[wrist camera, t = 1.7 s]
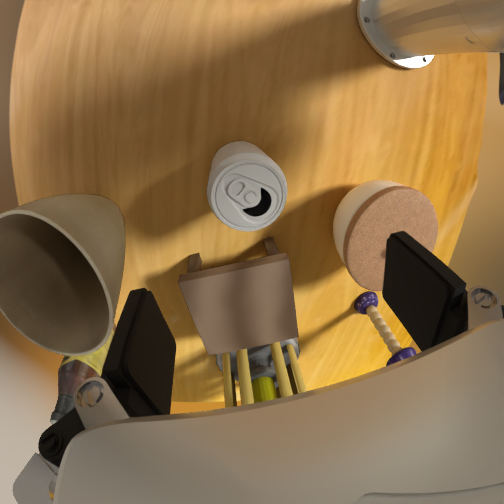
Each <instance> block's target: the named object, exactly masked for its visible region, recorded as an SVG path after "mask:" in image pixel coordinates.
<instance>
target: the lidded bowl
mask: <svg viewBox="0 0 504 504" xmlns="http://www.w3.org/2000/svg"><path fill="white" fill-rule="evenodd" d="M399 231H405V232H406V233H408V234H409V235H410V236H412V237H413V238H414V239H415V240H417V241H418V242H419V243H420V244H421V245H423V246H424V247H425V248H426V249H428V250H429V251H430V252H431V253H432V251H433V249H434V246H435V243H436V239H437V233H438V221H437V215H436V211H435V209H434V206H433V205H432V203H431V201H430V200H429V199H428V198H427V197H426V196H425V195H424V194H422V193H421V192H419V191H418V190H415V189H413V188H410V187H407V186H405V185H403V184H400V183H397V182H394V181H389V180H372V181H367V182H364V183H362V184H359V185H358V186H356V187H354V188H353V189H352V190H350V191H349V192H348V193H347V194H346V195H345V196H344V198H343V199H342V201H341V202H340V204H339V206H338V208H337V210H336V213H335V216H334V221H333V237H334V242H335V245H336V249H337V251H338V253H339V256H340V258H341V260H342V261H343V263H344V265H345V266H346V268H347V270H348V272H349V274H350V275H351V276H352V278H353V279H354V280H355V282H356V283H358V284H359V285H360V286H362V287H363V288H365V289H368V290H372V291H382V290H383V280H384V269H385V256H386V241H387V238H389V236H390V234H391V233H395V232H399Z"/></svg>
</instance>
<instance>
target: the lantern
mask: <svg viewBox="0 0 504 504" xmlns="http://www.w3.org/2000/svg"><path fill="white" fill-rule="evenodd" d="M299 354H300V348H299V343H298V340H297V338H293V339H289V340H285V341H280V342H276V343H271V344H267V345H262V346H257V347H252V348H247V349H242V350H237V351H231V352H225V353H220V354H216V364H217V365H218V367H219V369H220V371H222V372H223V380H224V398H225V408H229V407H236V406H237V401H236V390H235V380H236V381H239V387H240V396H241V406H242V405H247V404H253V403H258V402H263V401H268V400H273V399H278V398H282V397H287V396H291V395H295V394H299V393H303V392H307V391H306V387H305V384H304V380H303V377H302V374H301V370H300V367H299V363H298V357H299Z"/></svg>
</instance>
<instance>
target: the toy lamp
mask: <svg viewBox="0 0 504 504" xmlns="http://www.w3.org/2000/svg"><path fill="white" fill-rule="evenodd" d="M377 305H378V297H377V295H376V293H374V292H366V293H364V294H362V295H360V296H359V298H358V299H357V300H356V302H355V309H356V311H357V312H359V313H361V314H367V315H368V316H369V317H370V319H371V321H372V323H374V325H375V328H376V329H377V330H378V331H379V334H380V336H381V337H382V338H383V340H384V342H385V344H386V345H387V346H388V350H389V351H390V352H392V357H391V358H390V359H389V360H388V362H387V364H386V366H389V365H391V364H394V363H396V362H399V361H401V360H404V359H406V358H409V357H411V356H413V355H416V351H415V349H414V348H412V347H407V348H404V349H402V348H401V347H400V344H399V342H398V341H397V340H396V339H395V336H394V334H393V333H391V330H390V328H389V327H388V326H387V325H386V322H385V320H384V319H382V316H381V314H380V313H379V312H378V311H377V308H376V307H377Z"/></svg>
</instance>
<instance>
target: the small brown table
mask: <svg viewBox="0 0 504 504" xmlns="http://www.w3.org/2000/svg"><path fill="white" fill-rule="evenodd" d="M264 245H265V249H266V252H267V255H268V256H267V257H263V258H258V259H253V260H249V261H244V262H239V263H235V264H230V265H225V266H221V267H216V268H211V269H207V270H202V271H201V258H200V255H199V253H197V254H193V255H190V259H189V264H188V270H187V274H183V275H179V280H178V284H179V287H180V289H181V292H182V294H183V297H184V299H185V302H186V304H187V307H188V309H189V311H190V314H191V316H192V319H193V321H194V323H195V326H196V328H197V330H198V333H199V335H200V337H201V339H202V342H203V344H204V346H205V348H206V351H207V353H208V355H214V354H220V353H225V352H231V351H237V350H242V349H247V348H252V347H257V346H262V345H267V344H271V343H276V342H280V341H285V340H289V339H293V338H297V337H298V328H297V319H296V310H295V302H294V294H293V286H292V278H291V270H290V263H289V258H288V256H287V254H286V252H285V253H281V254H279V251H278V249H277V246H276V244H275V241H274V239H273V237H271V238H266V239H264Z"/></svg>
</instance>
